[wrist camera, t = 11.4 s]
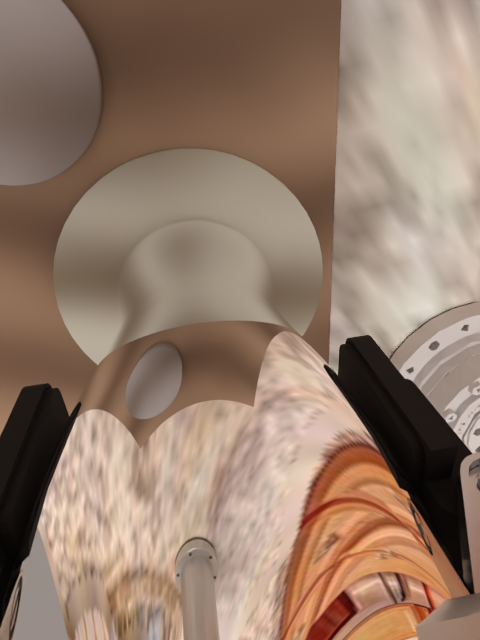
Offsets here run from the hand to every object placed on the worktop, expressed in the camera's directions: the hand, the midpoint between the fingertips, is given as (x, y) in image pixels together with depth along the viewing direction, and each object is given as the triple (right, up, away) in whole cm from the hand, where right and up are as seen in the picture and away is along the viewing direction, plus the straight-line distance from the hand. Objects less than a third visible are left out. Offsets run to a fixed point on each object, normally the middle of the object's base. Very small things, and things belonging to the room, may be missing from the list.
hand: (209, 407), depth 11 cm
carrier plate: (-4, +7, +6) cm, 10 cm away
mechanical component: (+13, -1, +14) cm, 19 cm away
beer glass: (-1, +3, +6) cm, 7 cm away
